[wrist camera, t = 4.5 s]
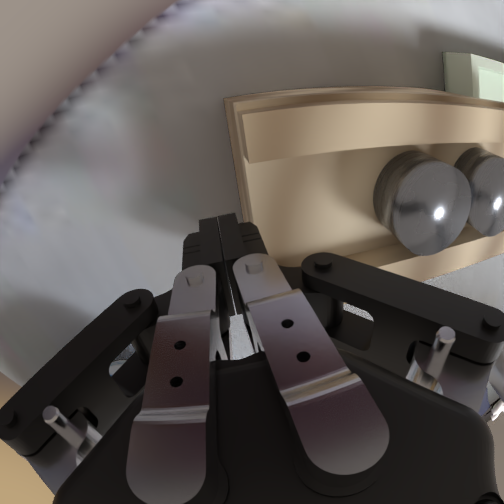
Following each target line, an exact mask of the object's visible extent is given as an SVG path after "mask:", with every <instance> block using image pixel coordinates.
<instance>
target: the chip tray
mask: <svg viewBox="0 0 504 504" xmlns="http://www.w3.org/2000/svg"><path fill="white" fill-rule="evenodd" d="M442 54H443V66H444V83H445V92H450V93H455V94H460V95H465V96H469V97H474V98H480V99H487V100H493V101H499V102H504V63H501V62H498V61H495V60H492V59H489V58H485V57H482V56H478V55H474V54H470V53H454V52H442Z"/></svg>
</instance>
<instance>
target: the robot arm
mask: <svg viewBox="0 0 504 504" xmlns="http://www.w3.org/2000/svg"><path fill="white" fill-rule="evenodd" d="M218 221H219V226H218V222H217V217H212V218H207V219H202V220H199V232H196V233H191V234H189V235H188V236H187V237H186V239H185V240H184V242H183V259H182V271H181V272H180V273H179V274H178V275H177V276H176V277H175V280H174V284H173V289H171V290H170V291H168V292H166V293H164V294H161V295H159V296H157V297H153V294H152V293H151V292H150V291H149V290H146V289H135V290H132V291H129V292H127V293H125V294H123V295H122V296H121V297H119V298H118V299H117V300H116V301H115V302H114V303H112V304H111V305H110V306H109V307H108V308H107V309H106V310H104V311H103V312H102V313H101V314H100V315H99V316H98V317H97V318H95V319H94V320H93V321H92V322H91V323H90V324H89V325H88V326H86V327H85V328H84V329H83V330H82V331H81V332H80V333H79V334H78V335H77V336H75V337H74V338H73V339H72V340H71V341H70V342H69V343H68V344H67V345H66V346H65V347H63V348H62V349H61V350H60V351H59V352H58V353H57V354H56V355H55V356H54V357H53V358H52V359H51V360H50V361H49V362H47V363H46V364H45V365H44V366H43V367H42V368H41V369H40V370H39V371H38V372H37V373H36V374H35V375H34V376H33V377H32V378H31V379H30V380H29V381H28V382H27V383H26V384H25V385H24V386H23V387H22V388H21V389H20V390H19V391H18V392H17V393H16V394H15V395H14V396H13V397H12V398H11V399H10V400H9V401H8V402H7V403H6V404H5V405H4V406H3V407H2V408H1V409H0V439H2V440H3V441H4V442H5V443H6V444H8V445H9V446H10V447H11V448H13V449H14V450H15V451H16V452H17V453H18V454H19V455H20V456H22V457H23V458H24V459H26V460H27V461H28V462H29V463H30V465H31V466H32V467H33V469H34V470H35V471H36V473H37V474H38V475H39V477H40V478H41V479H42V480H43V482H44V483H45V484H46V485H47V487H48V488H49V489H50V490H51V491H52V493H53V494H54V495H55V497H54V500H53V504H504V502H503V500H502V499H501V497H500V495H499V492H498V489H497V484H496V478H495V468H494V441H493V436H492V434H491V430H490V428H489V426H488V425H487V423H486V422H485V420H484V419H483V418H482V417H481V416H480V415H479V414H478V412H479V409H480V406H481V403H482V400H483V397H484V394H485V390H486V387H487V383H488V381H489V382H490V384H491V385H492V387H493V388H494V390H495V391H496V393H497V394H498V395H499V397H500V398H501V400H502V401H503V403H504V313H503V312H502V311H500V310H498V309H496V308H494V307H491V306H488V305H485V304H483V303H480V302H477V301H474V300H471V299H468V298H466V297H463V296H460V295H457V294H454V293H451V292H448V291H445V290H442V289H439V288H437V287H434V286H431V285H428V284H425V283H422V282H419V281H416V280H413V279H410V278H407V277H404V276H401V275H398V274H395V273H392V272H389V271H386V270H383V269H380V268H377V267H374V266H371V265H368V264H365V263H361V262H358V261H355V260H352V259H349V258H346V257H343V256H340V255H337V254H333V253H328V252H320V253H314V254H311V255H309V256H307V257H306V258H305V259H304V260H303V261H302V263H301V267H285V266H280V265H278V264H277V263H276V261H275V260H274V258H273V257H271V256H269V254H268V252H267V249H266V247H265V245H264V242H263V240H262V237H261V235H260V232H259V230H258V227H257V226H256V225H255V224H253V223H251V222H245V223H240V224H238V222H237V218H236V215H235V213H231V214H226V215H221V216H218ZM219 227H220V231H219ZM220 233H221V236H220ZM221 240H222V241H221ZM229 281H230V282H229ZM230 286H231V288H230ZM231 290H232V294H233V299H234V303H235V307H236V312H237V315H238V314H242V315H243V319H244V323H245V328H246V332H247V335H248V338H249V341H250V344H251V347H252V350H253V353H254V354H253V355H250V356H248V357H246V358H243V359H240V360H233V356H232V338H231V330H230V317H229V316H234V315H235V310H234V305H233V299H232V294H231ZM344 302H345V303H347V304H350V305H352V306H355V307H357V308H360V309H362V310H365V311H367V312H368V313H369V314H370V315H371V316H372V317H373V319H374V322H373V321H371V320H368V319H366V318H363V317H361V316H358V315H356V314H353V313H351V312H348V311H346V310H343V303H344ZM130 343H131V344H132V346H133V347H134V349H135V352H134V353H133V355H132V356H131V357H130V358H129V359H128V360H127V361H126V362H125V363H124V364H123V365H122V366H121V367H120V368H119V369H118V370H117V371H116V372H115V373H114V374H113V375H112V376H110V373H109V368H110V365H111V363H112V361H113V360H114V359H115V358H116V357H117V356H118V355H119V354H120V353H121V352H122V351H123V350H124V349H125V348H126V347H127V346H128V345H129V344H130Z"/></svg>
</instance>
